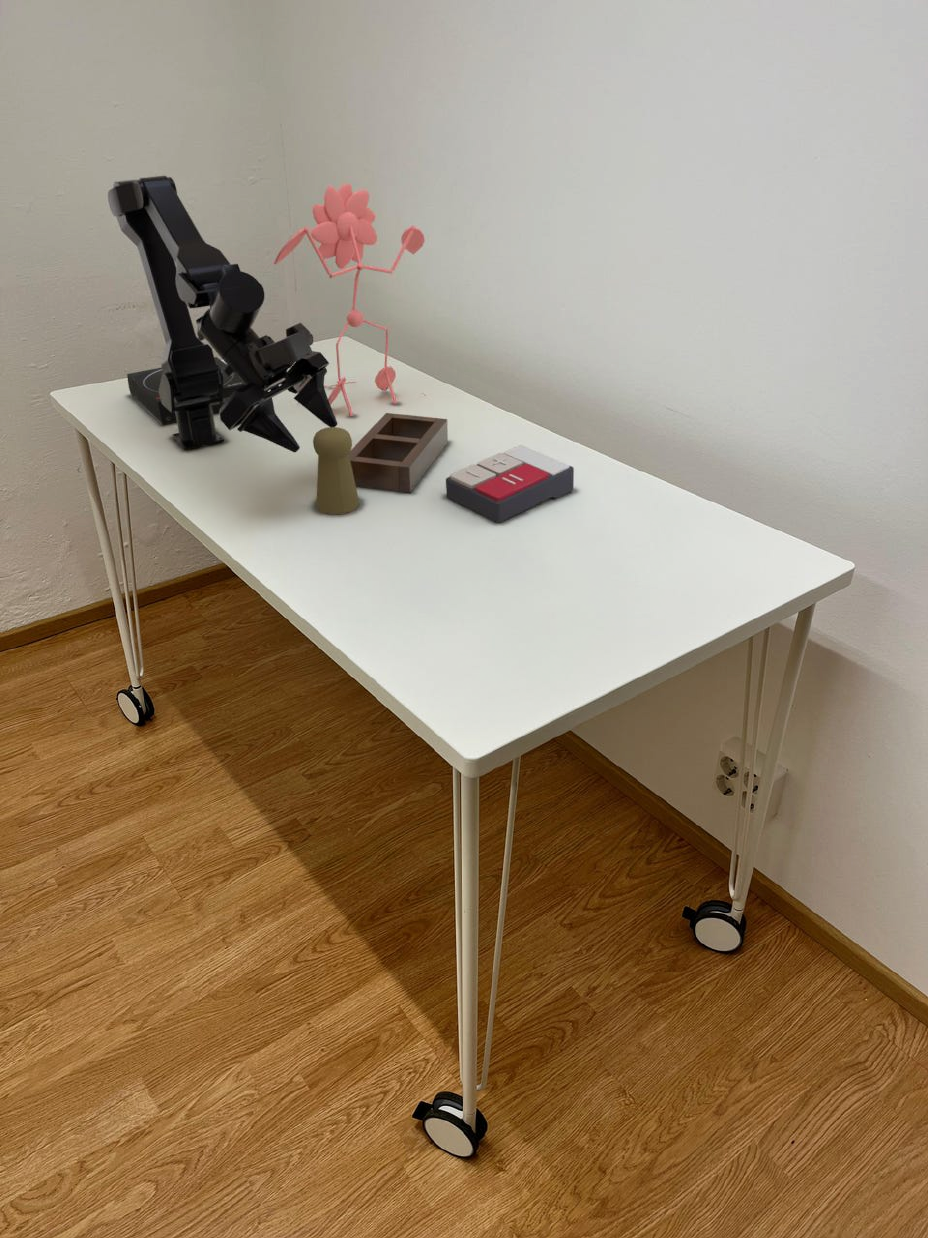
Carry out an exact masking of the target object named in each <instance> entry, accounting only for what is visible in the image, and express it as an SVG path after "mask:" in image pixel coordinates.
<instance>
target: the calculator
mask: <svg viewBox="0 0 928 1238" xmlns="http://www.w3.org/2000/svg"><path fill="white" fill-rule="evenodd" d="M574 470H575V468H574V466H572V465H570V464H568V463H566V462H563V461H562V460H559V459H556V458H553V457H551V456H549V455H547V454H544V453H543V452H540V451H537V450H535V449H532V448H530V447H528V446H525V445H522V444H519V445H516V446H513V447H512V448H509V449H508V450H505V451H503V452H498V453H496V454H494V455H492V456H489V457H487V458H484V459H483V460H480V461H478V462H477V464H471V465H468V466H467V467H464V468H461V469H459V470H457V471H455V472H453V473H451V474H449V476H448V477H446V478H445V489H446V498H448V499H450V500H452V501H453V502H456V503H458V504H460V505H461V506H463V507H465V508H467V509H469V510H471V511H473V512H475V513H477V514H479V515H481V516H483V517H486V518H487V519H489V520H491V521H493V522H495V523H502V522H504V521H506V520H507V519H510V518H512V517H514V516H516V515H518V514H520V513H522V512H524V511H526V510H528V509H531V508H532V507H534V506H536V505H538V504H541V503H542V502H544V501H546V500H548V499H551V498H553V499H558V498H560V497H562V496H564V495H566V494H568V493H570V492H572V491H573V490H574V483H575V482H574V479H575V478H574V476H575V474H574V473H575V471H574Z"/></svg>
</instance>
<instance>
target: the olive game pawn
mask: <svg viewBox="0 0 928 1238" xmlns="http://www.w3.org/2000/svg"><path fill="white" fill-rule="evenodd" d="M312 446H313V449H314V452H315V453H316V455H317V456H318V457H317V475H316V476H317V477H316V479H317V480H316V497H315V499H316V500H315V501H316V502H315V506H316V509H317V510H318V511H319V512H321V513H323V514H326V515H343V514H348V513H351V512H354V511H356V509H358V508H359V506H360V499H359V495H358V492H357V491H358V490H357V486H356V485H355V481H354V476H353V471H352V467H351V462H350V458H349V452H350V451H351V450H352V448H353V447H352V446H353V439H352V437H351V434H350V433H349V431H348V430H346V428H342V427H337V426H336V427H329V426H328V427H324V428H321V429H320V430H318V431H316V433H315V434H314V436H313V439H312Z"/></svg>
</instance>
